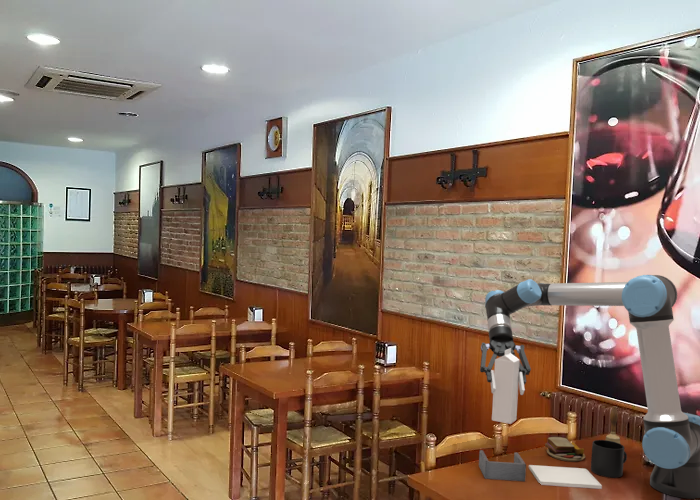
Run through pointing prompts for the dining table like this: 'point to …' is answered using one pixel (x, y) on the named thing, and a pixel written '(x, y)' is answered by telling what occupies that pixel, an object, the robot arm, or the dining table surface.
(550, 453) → the toy sandwich meal
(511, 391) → the milk
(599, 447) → the mug
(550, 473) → the board
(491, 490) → the dining table surface
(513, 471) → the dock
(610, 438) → the hand bell
